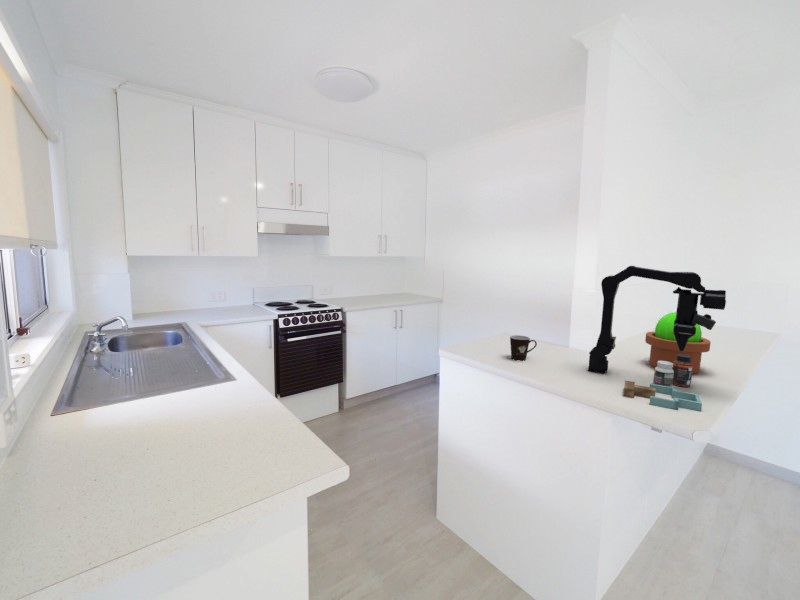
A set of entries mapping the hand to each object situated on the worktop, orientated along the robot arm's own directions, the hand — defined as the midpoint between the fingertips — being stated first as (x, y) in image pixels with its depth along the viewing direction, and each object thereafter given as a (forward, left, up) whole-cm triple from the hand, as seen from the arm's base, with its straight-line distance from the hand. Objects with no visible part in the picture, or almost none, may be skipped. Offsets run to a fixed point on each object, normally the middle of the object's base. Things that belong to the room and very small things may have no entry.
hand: (681, 348), depth 137 cm
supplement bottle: (+1, +1, -15) cm, 15 cm away
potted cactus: (0, +25, -15) cm, 29 cm away
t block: (-12, -20, -14) cm, 27 cm away
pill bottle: (-5, -8, -15) cm, 17 cm away
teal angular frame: (-2, -20, -14) cm, 25 cm away
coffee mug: (-57, -1, -15) cm, 59 cm away
